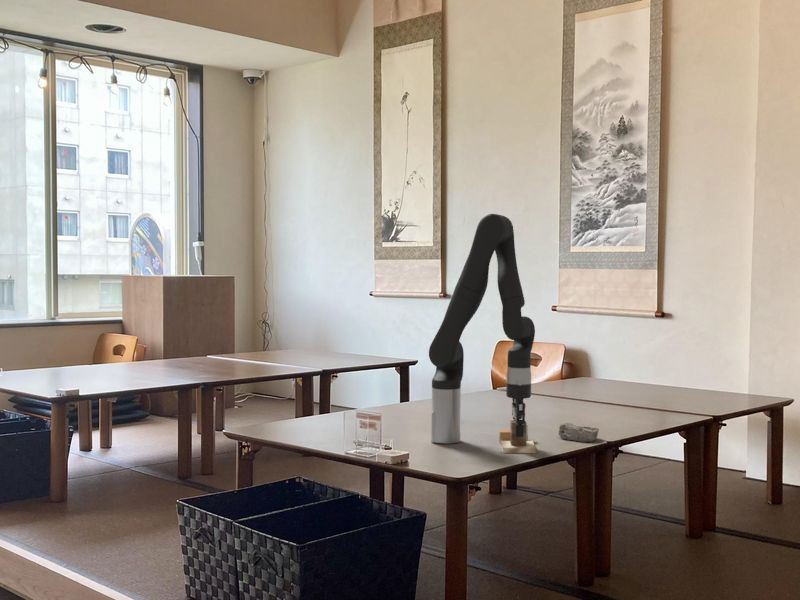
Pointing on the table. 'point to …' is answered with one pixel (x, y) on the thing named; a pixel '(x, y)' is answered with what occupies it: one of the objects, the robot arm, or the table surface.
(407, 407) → the table surface
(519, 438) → the walnut block
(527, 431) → the grey-green square block
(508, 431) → the ochre cube
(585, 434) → the stone
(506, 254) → the robot arm
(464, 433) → the table surface
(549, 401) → the table surface
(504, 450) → the board
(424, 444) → the table surface
